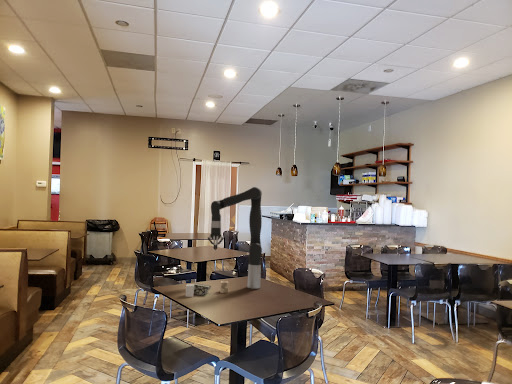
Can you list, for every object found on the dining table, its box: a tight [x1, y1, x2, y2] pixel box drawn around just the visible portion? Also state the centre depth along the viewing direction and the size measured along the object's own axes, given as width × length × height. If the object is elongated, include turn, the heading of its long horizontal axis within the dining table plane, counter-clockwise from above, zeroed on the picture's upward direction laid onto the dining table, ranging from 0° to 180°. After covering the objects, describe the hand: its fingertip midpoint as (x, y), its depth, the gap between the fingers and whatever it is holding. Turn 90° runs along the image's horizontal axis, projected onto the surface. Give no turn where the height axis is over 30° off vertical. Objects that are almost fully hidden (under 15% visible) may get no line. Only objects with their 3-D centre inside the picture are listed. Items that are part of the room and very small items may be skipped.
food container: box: [193, 283, 212, 296], centre depth 242 cm, size 12×6×10 cm
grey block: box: [185, 283, 195, 298], centre depth 235 cm, size 5×5×7 cm
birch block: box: [219, 280, 229, 294], centre depth 250 cm, size 5×5×7 cm
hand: (215, 249), depth 274 cm, fingers closed
